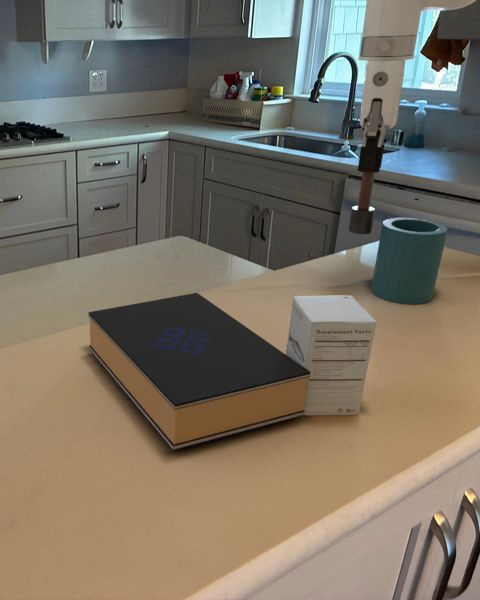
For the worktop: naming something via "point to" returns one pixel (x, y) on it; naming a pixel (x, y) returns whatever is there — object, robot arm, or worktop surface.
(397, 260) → the teal pen holder
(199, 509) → the worktop surface
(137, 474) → the worktop surface
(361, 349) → the white packaging box
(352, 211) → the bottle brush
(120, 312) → the book
